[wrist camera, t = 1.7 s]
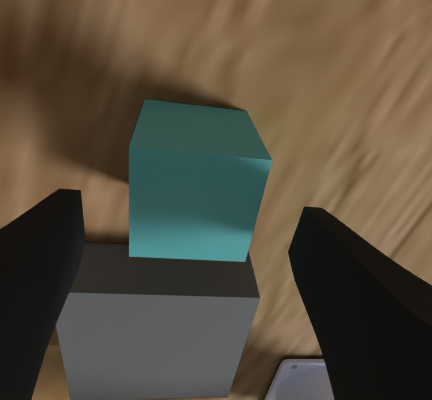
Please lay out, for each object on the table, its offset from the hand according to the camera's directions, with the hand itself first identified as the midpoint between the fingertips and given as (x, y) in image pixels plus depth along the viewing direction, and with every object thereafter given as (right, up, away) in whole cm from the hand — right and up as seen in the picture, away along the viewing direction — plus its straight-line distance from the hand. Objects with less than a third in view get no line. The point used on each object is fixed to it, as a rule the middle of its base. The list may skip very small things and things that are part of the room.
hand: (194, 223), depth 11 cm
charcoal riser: (-3, -6, +10) cm, 12 cm away
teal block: (0, +3, +5) cm, 6 cm away
